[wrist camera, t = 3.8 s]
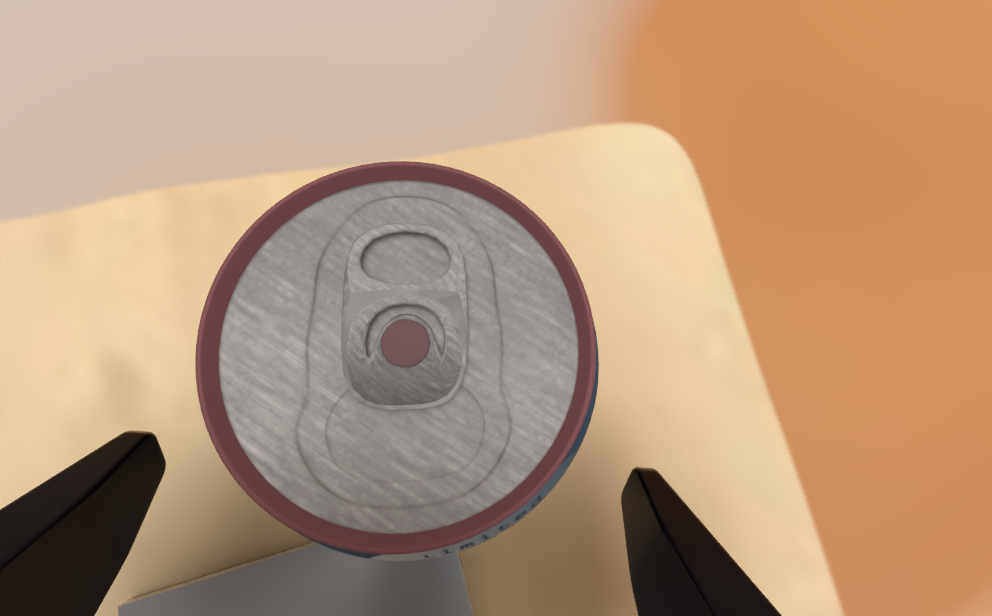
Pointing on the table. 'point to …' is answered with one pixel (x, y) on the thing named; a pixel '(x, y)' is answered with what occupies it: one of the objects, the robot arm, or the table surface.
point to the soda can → (397, 361)
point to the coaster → (316, 588)
